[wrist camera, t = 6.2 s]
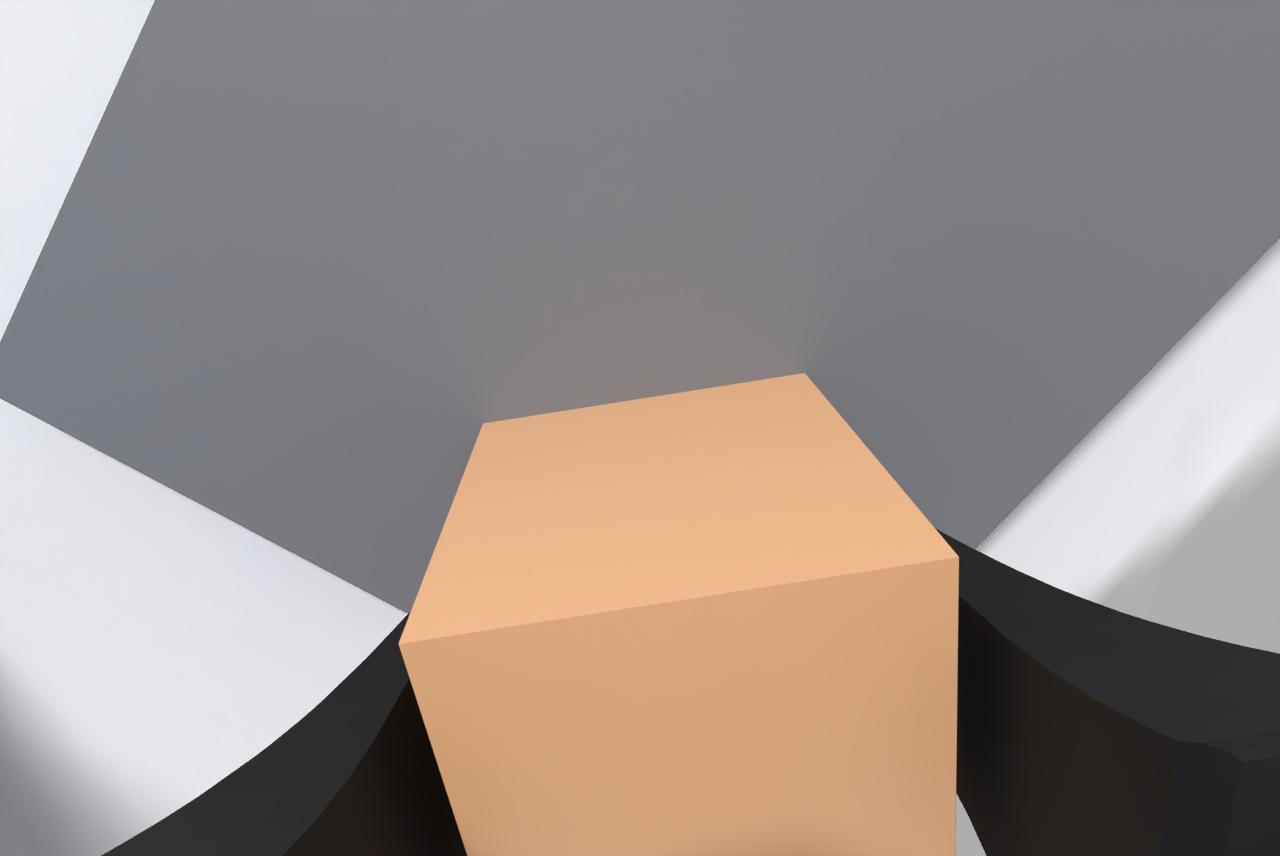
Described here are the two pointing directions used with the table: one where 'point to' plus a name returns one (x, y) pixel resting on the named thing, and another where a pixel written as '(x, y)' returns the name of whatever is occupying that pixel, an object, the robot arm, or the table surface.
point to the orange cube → (690, 636)
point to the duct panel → (635, 237)
